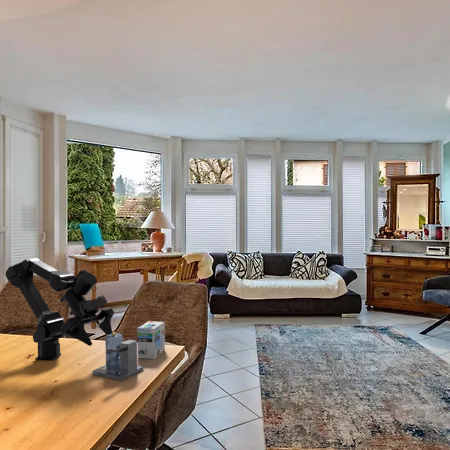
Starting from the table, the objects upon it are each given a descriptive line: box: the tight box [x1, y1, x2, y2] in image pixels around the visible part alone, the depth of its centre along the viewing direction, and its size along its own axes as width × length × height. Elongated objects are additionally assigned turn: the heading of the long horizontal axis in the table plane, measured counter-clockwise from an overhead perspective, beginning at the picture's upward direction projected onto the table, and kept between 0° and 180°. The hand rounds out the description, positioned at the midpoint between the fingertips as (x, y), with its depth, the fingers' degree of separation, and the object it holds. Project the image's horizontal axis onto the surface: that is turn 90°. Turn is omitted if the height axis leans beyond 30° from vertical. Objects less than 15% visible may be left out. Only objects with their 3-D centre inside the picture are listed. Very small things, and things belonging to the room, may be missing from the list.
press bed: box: [92, 339, 144, 382], centre depth 121 cm, size 12×14×11 cm
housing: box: [104, 331, 123, 370], centre depth 124 cm, size 5×5×11 cm
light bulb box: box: [136, 320, 166, 360], centre depth 141 cm, size 11×7×11 cm, turn 168°
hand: (102, 341), depth 126 cm, fingers open, 9 cm apart
